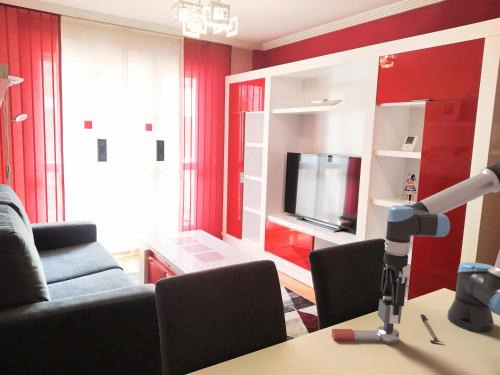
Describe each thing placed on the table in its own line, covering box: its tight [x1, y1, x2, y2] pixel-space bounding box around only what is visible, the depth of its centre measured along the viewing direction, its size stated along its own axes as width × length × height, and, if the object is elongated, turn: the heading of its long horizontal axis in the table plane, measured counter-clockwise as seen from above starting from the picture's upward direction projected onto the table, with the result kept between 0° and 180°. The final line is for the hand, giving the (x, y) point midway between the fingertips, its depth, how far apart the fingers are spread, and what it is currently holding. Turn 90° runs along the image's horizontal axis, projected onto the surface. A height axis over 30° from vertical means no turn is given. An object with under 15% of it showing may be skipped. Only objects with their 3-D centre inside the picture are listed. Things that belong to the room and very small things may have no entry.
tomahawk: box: [420, 313, 445, 346], centre depth 136 cm, size 21×7×1 cm, turn 166°
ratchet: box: [330, 322, 400, 345], centre depth 127 cm, size 22×7×9 cm, turn 93°
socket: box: [377, 298, 403, 324], centre depth 126 cm, size 5×5×6 cm
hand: (389, 318), depth 127 cm, fingers closed on socket, 5 cm apart
